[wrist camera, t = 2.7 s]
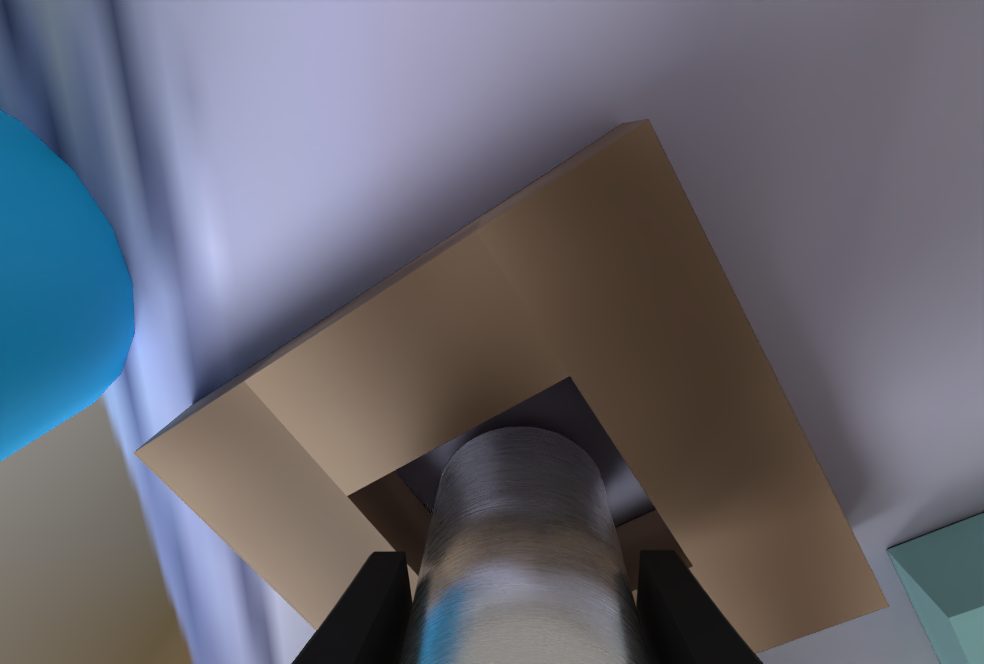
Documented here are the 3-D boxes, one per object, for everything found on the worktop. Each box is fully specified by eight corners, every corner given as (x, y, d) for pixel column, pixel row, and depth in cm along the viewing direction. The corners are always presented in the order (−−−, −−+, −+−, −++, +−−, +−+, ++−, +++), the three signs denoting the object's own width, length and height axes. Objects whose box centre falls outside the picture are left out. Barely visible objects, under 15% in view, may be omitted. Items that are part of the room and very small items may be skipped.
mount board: (459, 688, 16) (451, 762, 14) (190, 405, 12) (133, 452, 10) (836, 539, 13) (889, 606, 11) (622, 123, 10) (648, 118, 8)
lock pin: (492, 595, 13) (462, 1195, 6) (388, 471, 12) (170, 1034, 4) (651, 524, 12) (874, 1148, 5) (555, 379, 11) (650, 919, 3)
